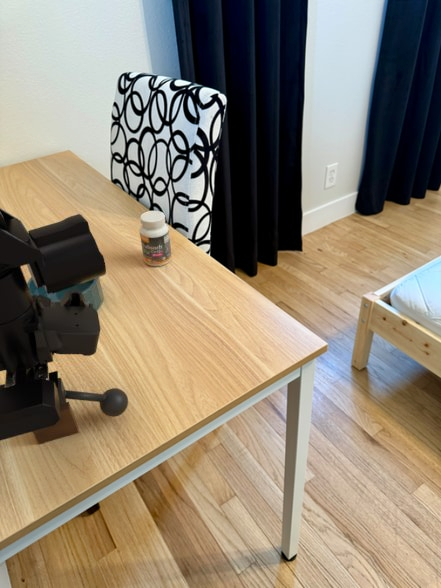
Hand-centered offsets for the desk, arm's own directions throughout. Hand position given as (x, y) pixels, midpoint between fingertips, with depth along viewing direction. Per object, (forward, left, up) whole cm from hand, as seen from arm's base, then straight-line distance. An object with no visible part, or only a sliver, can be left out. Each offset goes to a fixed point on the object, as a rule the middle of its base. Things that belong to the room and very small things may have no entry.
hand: (46, 405), depth 52 cm
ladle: (+4, 0, -4) cm, 6 cm away
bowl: (+3, +28, -6) cm, 29 cm away
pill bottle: (+21, +36, -6) cm, 42 cm away
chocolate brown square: (0, 0, -6) cm, 6 cm away
